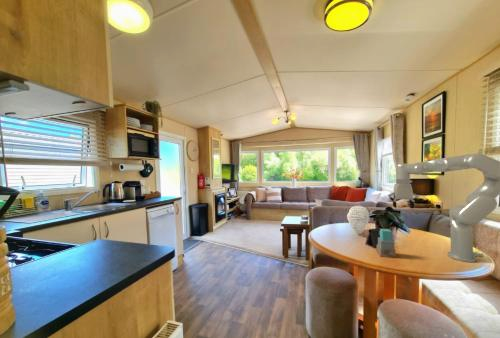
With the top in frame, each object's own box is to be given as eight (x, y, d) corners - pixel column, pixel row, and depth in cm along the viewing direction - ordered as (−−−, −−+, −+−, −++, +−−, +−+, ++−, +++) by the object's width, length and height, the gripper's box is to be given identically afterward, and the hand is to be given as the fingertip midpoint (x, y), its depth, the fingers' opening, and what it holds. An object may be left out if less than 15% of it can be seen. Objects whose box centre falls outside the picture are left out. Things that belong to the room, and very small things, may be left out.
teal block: (388, 238, 136) (388, 229, 136) (391, 241, 131) (391, 231, 131) (380, 237, 137) (379, 228, 137) (382, 240, 132) (382, 231, 132)
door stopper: (382, 247, 146) (382, 230, 145) (375, 248, 144) (375, 231, 144) (372, 243, 154) (372, 226, 154) (365, 244, 153) (365, 227, 153)
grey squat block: (390, 245, 136) (390, 238, 136) (394, 250, 129) (394, 241, 129) (377, 244, 138) (377, 237, 138) (381, 249, 131) (381, 241, 131)
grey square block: (390, 253, 137) (390, 245, 137) (395, 258, 129) (395, 250, 129) (376, 252, 139) (376, 244, 139) (380, 257, 131) (380, 249, 131)
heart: (369, 241, 159) (368, 211, 158) (346, 237, 166) (346, 209, 166) (369, 230, 183) (369, 205, 182) (349, 228, 191) (349, 203, 190)
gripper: (415, 181, 142) (415, 207, 142) (386, 181, 147) (386, 206, 147) (421, 182, 135) (421, 209, 135) (390, 182, 140) (390, 208, 140)
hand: (403, 207), depth 141 cm, fingers open, 9 cm apart
